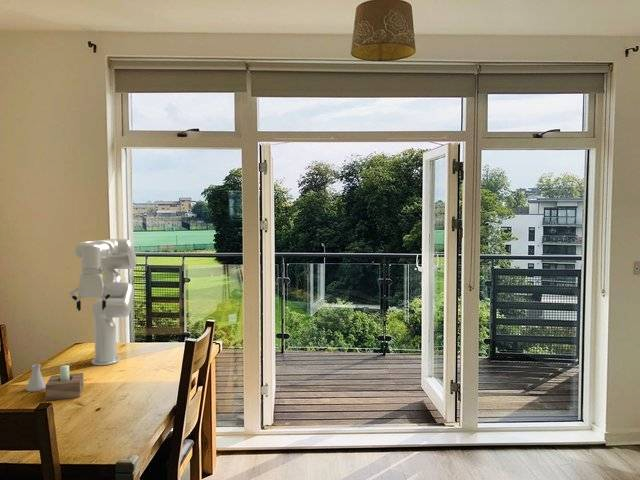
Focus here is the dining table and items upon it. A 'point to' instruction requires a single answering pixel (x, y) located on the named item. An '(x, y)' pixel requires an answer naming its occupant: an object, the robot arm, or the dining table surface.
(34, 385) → the flask
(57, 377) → the socket block
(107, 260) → the robot arm
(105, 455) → the dining table surface
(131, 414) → the dining table surface
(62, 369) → the peg
